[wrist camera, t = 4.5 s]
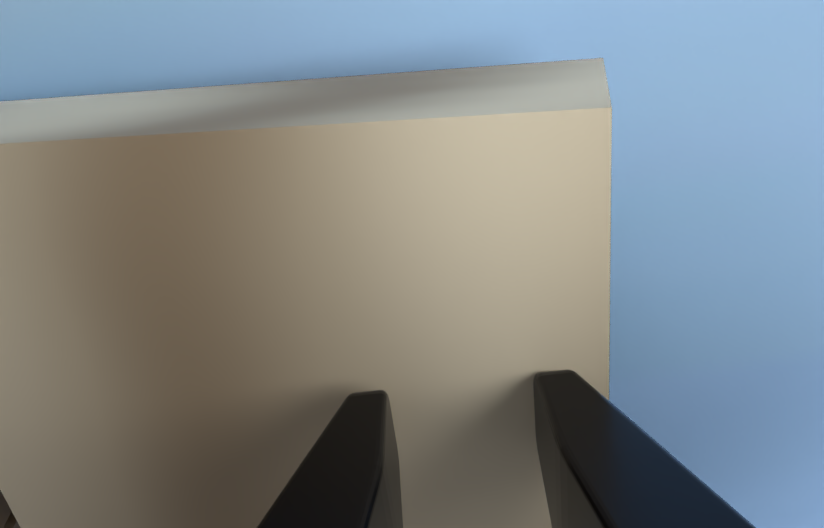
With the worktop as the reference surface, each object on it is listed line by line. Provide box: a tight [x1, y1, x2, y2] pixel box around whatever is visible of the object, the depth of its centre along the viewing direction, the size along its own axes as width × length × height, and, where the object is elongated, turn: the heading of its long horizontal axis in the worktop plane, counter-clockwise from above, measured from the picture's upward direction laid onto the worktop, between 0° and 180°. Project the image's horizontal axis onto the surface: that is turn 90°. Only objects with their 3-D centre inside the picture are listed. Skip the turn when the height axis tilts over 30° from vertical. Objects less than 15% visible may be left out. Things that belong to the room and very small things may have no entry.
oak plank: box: [0, 58, 612, 528], centre depth 9 cm, size 8×6×2 cm
